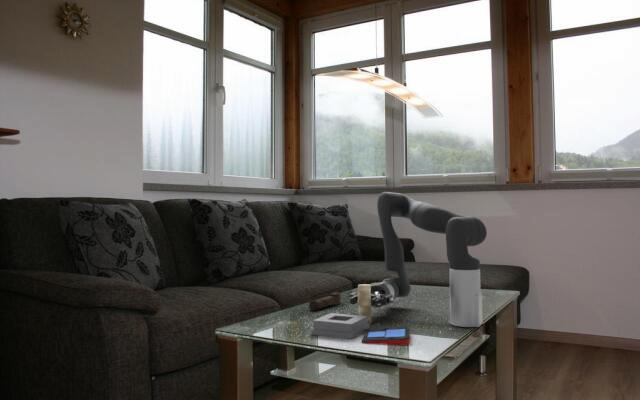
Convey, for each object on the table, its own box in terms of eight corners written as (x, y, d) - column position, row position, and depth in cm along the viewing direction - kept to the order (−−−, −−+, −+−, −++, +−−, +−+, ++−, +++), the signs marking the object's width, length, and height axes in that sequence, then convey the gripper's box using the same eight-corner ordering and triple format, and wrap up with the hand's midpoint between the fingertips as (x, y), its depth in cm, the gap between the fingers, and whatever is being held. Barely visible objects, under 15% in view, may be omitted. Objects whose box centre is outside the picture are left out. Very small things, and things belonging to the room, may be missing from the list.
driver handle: (373, 322, 166) (372, 284, 166) (368, 325, 163) (367, 286, 163) (361, 321, 168) (360, 283, 168) (356, 323, 164) (356, 285, 165)
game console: (366, 332, 154) (366, 325, 155) (409, 334, 152) (409, 326, 152) (361, 345, 140) (361, 336, 140) (409, 346, 138) (409, 338, 138)
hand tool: (317, 312, 185) (317, 298, 186) (308, 310, 188) (308, 297, 188) (346, 304, 201) (346, 292, 201) (337, 303, 203) (337, 291, 203)
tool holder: (369, 329, 157) (369, 315, 157) (352, 339, 145) (352, 324, 145) (330, 325, 162) (330, 312, 162) (311, 334, 151) (310, 320, 151)
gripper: (360, 282, 181) (340, 288, 167) (400, 284, 175) (383, 291, 160) (360, 303, 181) (340, 312, 166) (400, 306, 175) (383, 316, 160)
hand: (361, 302), depth 163 cm, fingers open, 6 cm apart
